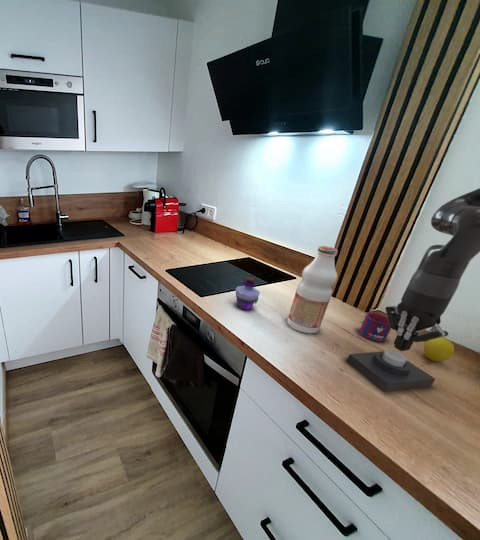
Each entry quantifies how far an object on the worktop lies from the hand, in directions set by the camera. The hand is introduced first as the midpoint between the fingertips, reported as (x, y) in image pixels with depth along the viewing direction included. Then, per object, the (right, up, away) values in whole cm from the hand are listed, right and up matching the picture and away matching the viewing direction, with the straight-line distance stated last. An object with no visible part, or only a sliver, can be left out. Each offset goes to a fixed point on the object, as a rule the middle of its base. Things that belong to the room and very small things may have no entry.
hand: (399, 348), depth 74 cm
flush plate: (0, -8, +3) cm, 8 cm away
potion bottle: (-26, +6, +34) cm, 43 cm away
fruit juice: (-10, +1, +23) cm, 26 cm away
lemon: (+18, -6, +9) cm, 21 cm away
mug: (+11, -1, +21) cm, 23 cm away
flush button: (0, -4, +2) cm, 4 cm away
